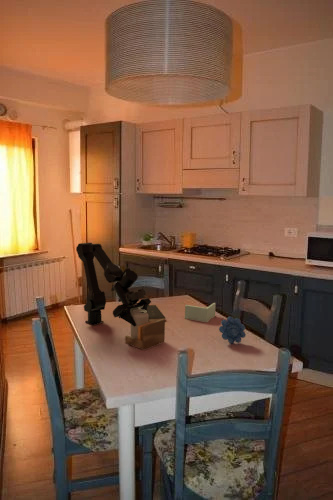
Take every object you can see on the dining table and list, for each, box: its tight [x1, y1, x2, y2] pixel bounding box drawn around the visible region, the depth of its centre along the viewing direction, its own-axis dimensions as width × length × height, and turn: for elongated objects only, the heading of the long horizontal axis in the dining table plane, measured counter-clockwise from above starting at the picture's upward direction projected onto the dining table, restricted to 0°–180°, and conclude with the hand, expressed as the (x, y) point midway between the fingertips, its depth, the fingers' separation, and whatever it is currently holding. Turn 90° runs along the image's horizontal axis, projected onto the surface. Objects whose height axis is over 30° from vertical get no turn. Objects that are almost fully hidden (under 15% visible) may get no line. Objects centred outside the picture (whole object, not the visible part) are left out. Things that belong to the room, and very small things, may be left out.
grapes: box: [218, 316, 246, 344], centre depth 173 cm, size 12×7×12 cm, turn 96°
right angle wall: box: [184, 302, 217, 323], centre depth 210 cm, size 12×12×8 cm
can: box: [130, 309, 149, 339], centre depth 175 cm, size 8×8×12 cm
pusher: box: [138, 321, 155, 340], centre depth 173 cm, size 1×9×8 cm, turn 140°
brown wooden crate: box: [124, 318, 166, 351], centre depth 174 cm, size 11×12×10 cm
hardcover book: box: [130, 304, 166, 323], centre depth 212 cm, size 16×23×2 cm
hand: (142, 323), depth 174 cm, fingers closed on can, 7 cm apart
